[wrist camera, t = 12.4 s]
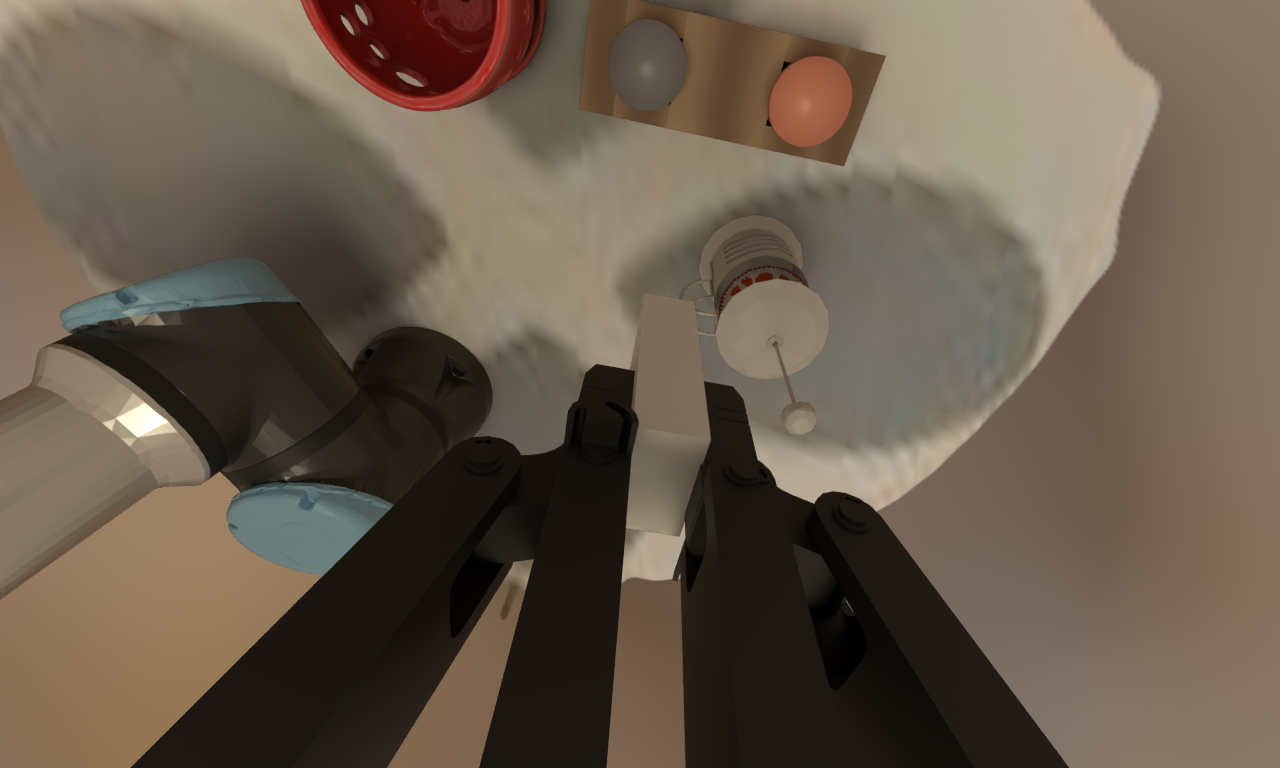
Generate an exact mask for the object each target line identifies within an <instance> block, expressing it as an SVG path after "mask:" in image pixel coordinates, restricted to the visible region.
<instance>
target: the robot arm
mask: <svg viewBox="0 0 1280 768" xmlns="http://www.w3.org/2000/svg"><path fill="white" fill-rule="evenodd" d="M302 304H303V303H302V301H301V300H300V299H299V298H298V297H296V296H293V295H292V293H291V292H290V291H289V290H288V289H287V287H286V286H285V285H284V284H283V283H282V281H281V280H280V279H279V278H278V277H277V275H276V274H275V273H274V272H273V271H272V270H271V269H270V268H269V267H268V266H267V265H266V264H264V263H263V262H261V261H259V260H257V259H253V258H250V257H231V258H226V259H221V260H216V261H212V262H208V263H204V264H200V265H196V266H193V267H189V268H185V269H182V270H178V271H175V272H171V273H168V274H164V275H161V276H158V277H154V278H151V279H148V280H145V281H142V282H139V283H136V284H133V285H131V286H130V287H124V288H121V289H118V290H115V291H112V292H109V293H104V294H101V295H98V296H95V297H92V298H89V299H87V300H84V301H81V302H79V303H76V304H74V305H71V306H69V307H67V308H66V309H64V310H63V311H61V313H60V318H61V319H62V321H63V327H64V328H65V329H66V330H67V331H68V332H69V333H73V334H72V335H70V336H67V337H65V338H63V339H61V340H59V341H56V342H54V343H52V344H49V345H47V346H45V347H43V348H42V349H40V350H39V352H38V355H37V360H36V364H35V369H34V374H33V379H32V382H31V384H30V385H29V386H28V387H26V388H24V389H22V390H20V391H18V392H16V393H14V394H12V395H10V396H8V397H6V398H4V399H2V400H0V600H1V599H2V598H3V597H5V596H6V595H8V594H9V593H10V592H12V591H13V590H15V589H16V588H17V587H19V586H20V585H21V584H23V583H24V582H26V581H27V580H28V579H30V578H31V577H33V576H34V575H35V574H37V573H38V572H40V571H41V570H42V569H44V568H45V567H47V566H48V565H49V564H51V563H52V562H54V561H55V560H56V559H58V558H59V557H60V556H62V555H63V554H65V553H66V552H68V551H69V550H70V549H72V548H73V547H75V546H76V545H77V544H79V543H80V542H81V541H83V540H84V539H86V538H87V537H89V536H90V535H91V534H93V533H94V532H96V531H97V530H98V529H100V528H101V527H102V526H104V525H105V524H107V523H108V522H110V521H111V520H112V519H114V518H115V517H116V516H118V515H119V514H121V513H122V512H123V511H125V510H126V509H128V508H129V507H131V506H132V505H133V504H135V503H136V502H137V501H139V500H140V499H142V498H143V497H144V496H146V495H147V494H149V493H150V492H151V491H153V490H154V489H157V488H162V487H170V486H197V485H201V484H203V483H204V482H206V481H207V480H209V479H210V478H211V477H212V476H214V475H215V474H217V473H218V472H219V471H220V472H221V473H222V474H223V475H224V476H225V477H226V478H228V480H229V481H231V483H232V484H233V485H234V486H235V487H236V488H237V489H238V490H239V491H240V493H239V494H237V495H235V496H234V497H233V499H232V500H231V503H230V506H229V508H228V510H227V514H226V517H227V521H228V522H229V525H228V527H229V529H230V531H231V533H232V534H233V536H234V537H235V538H236V539H237V540H238V541H239V542H240V543H241V544H242V545H243V546H244V547H246V548H247V549H249V550H250V551H252V552H253V553H255V554H256V555H258V556H260V557H262V558H264V559H266V560H268V561H270V562H273V563H275V564H277V565H280V566H283V567H286V568H289V569H292V570H296V571H301V572H306V573H311V574H319V575H323V577H322V578H320V579H319V581H317V582H316V583H315V584H314V585H313V586H312V588H310V590H308V591H307V592H306V593H305V594H304V595H303V597H301V598H300V599H299V600H298V601H297V602H296V604H294V605H293V606H292V607H291V608H290V609H289V610H288V611H287V613H286V614H284V615H283V616H282V617H281V618H280V619H279V620H278V621H277V622H276V623H275V624H274V625H273V626H272V627H271V628H270V629H269V630H268V631H267V632H266V633H265V634H264V635H263V636H262V637H261V638H260V639H259V640H258V641H257V642H256V643H255V644H254V645H253V646H252V647H251V648H250V649H249V650H248V651H247V652H246V653H245V654H244V655H243V656H242V657H241V658H240V659H239V660H238V661H237V662H236V663H235V664H234V665H233V666H232V667H231V668H230V669H229V670H228V671H227V672H226V673H225V674H224V675H223V676H222V677H221V678H220V679H219V680H218V681H217V682H216V683H215V684H214V685H213V686H212V687H211V688H210V689H209V690H208V691H207V692H206V693H205V694H204V695H203V696H202V697H201V698H200V699H199V700H198V701H197V702H196V703H195V704H194V705H193V706H192V707H191V708H190V709H189V710H188V711H187V712H186V713H185V714H184V715H183V716H182V717H181V718H180V719H179V720H178V721H177V722H176V723H175V724H174V725H173V726H172V727H171V728H170V729H169V730H168V731H167V732H166V733H165V734H164V735H163V736H162V737H161V738H160V739H159V740H158V741H157V742H156V743H155V744H154V745H153V746H152V747H151V748H150V749H149V750H148V751H147V752H146V753H145V754H144V755H143V756H142V757H141V758H140V759H139V760H138V761H137V762H136V763H135V764H134V765H133V766H132V767H131V768H387V767H388V765H389V764H390V762H391V760H392V759H393V757H394V756H395V754H396V752H397V751H398V749H399V747H400V746H401V744H402V743H403V741H404V739H405V738H406V736H407V735H408V733H409V731H410V730H411V728H412V727H413V725H414V723H415V722H416V720H417V718H418V717H419V715H420V713H421V712H422V710H423V709H424V707H425V706H426V704H427V702H428V701H429V699H430V698H431V696H432V694H433V693H434V691H435V690H436V688H437V686H438V685H439V683H440V681H441V680H442V678H443V676H444V675H445V673H446V672H447V670H448V669H449V667H450V665H451V664H452V662H453V661H454V659H455V657H456V656H457V654H458V652H459V651H460V649H461V647H462V646H463V644H464V643H465V641H466V639H467V638H468V636H469V635H470V633H471V632H472V630H473V628H474V627H475V625H476V623H477V622H478V620H479V619H480V617H481V615H482V614H483V612H484V610H485V609H486V607H487V606H488V604H489V603H490V601H491V599H492V598H493V596H494V594H495V593H496V591H497V590H498V588H499V587H500V585H501V583H502V582H503V580H504V578H505V577H506V575H507V574H508V572H509V570H510V569H511V567H512V564H513V562H516V561H523V560H531V559H534V561H533V565H532V569H531V572H530V576H529V580H528V584H527V588H526V591H525V595H524V599H523V603H522V607H521V610H520V614H519V618H518V622H517V626H516V630H515V633H514V637H513V641H512V645H511V649H510V653H509V656H508V660H507V664H506V668H505V672H504V675H503V679H502V683H501V687H500V691H499V695H498V698H497V702H496V706H495V710H494V714H493V717H492V721H491V725H490V729H489V733H488V736H487V740H486V744H485V748H484V752H483V755H482V759H481V763H480V767H479V768H606V766H607V754H608V741H609V728H610V717H611V716H610V715H611V705H612V692H613V679H614V667H615V655H616V643H617V630H618V618H619V606H620V592H621V581H622V569H623V557H624V544H625V532H626V528H629V529H635V530H641V531H648V532H654V533H661V534H667V535H673V536H680V534H681V531H682V528H683V524H684V521H685V536H686V538H685V541H684V544H683V547H682V550H681V553H680V556H679V559H678V562H677V565H676V568H675V571H674V575H673V579H672V580H674V581H678V578H679V575H680V576H681V613H682V649H683V683H684V684H683V687H684V724H685V756H686V757H685V761H686V768H1069V767H1068V766H1067V764H1066V763H1065V762H1064V760H1063V759H1062V758H1061V756H1060V755H1059V754H1058V752H1057V751H1056V750H1055V748H1054V747H1053V746H1052V744H1051V743H1050V742H1049V741H1048V739H1047V738H1046V736H1045V735H1044V734H1043V732H1042V731H1041V730H1040V728H1039V727H1038V726H1037V724H1036V723H1035V722H1034V720H1033V719H1032V718H1031V716H1030V715H1029V714H1028V712H1027V711H1026V709H1025V708H1024V707H1023V706H1022V704H1021V703H1020V702H1019V700H1018V699H1017V698H1016V696H1015V695H1014V694H1013V692H1012V691H1011V690H1010V688H1009V687H1008V685H1007V684H1006V683H1005V681H1004V680H1003V679H1002V677H1001V676H1000V675H999V674H998V672H997V671H996V669H995V668H994V667H993V666H992V664H991V663H990V661H989V660H988V659H987V657H986V656H985V655H984V653H983V652H982V651H981V649H980V648H979V647H978V645H977V644H976V643H975V641H974V640H973V639H972V637H971V636H970V635H969V633H968V632H967V631H966V629H965V628H964V627H963V625H962V624H961V623H960V622H959V620H958V619H957V617H956V616H955V615H954V613H953V612H952V611H951V610H950V608H949V607H948V606H947V604H946V603H945V601H944V600H943V599H942V597H941V596H940V595H939V593H938V592H937V591H936V589H935V588H934V587H933V585H932V584H931V583H930V581H929V580H928V579H927V577H926V576H925V575H924V573H923V572H922V571H921V569H920V568H919V567H918V565H917V564H916V563H915V561H914V560H913V559H912V557H911V556H910V555H909V553H908V552H907V551H906V549H905V548H904V547H903V545H902V544H901V543H900V541H899V540H898V539H897V537H896V536H895V535H894V533H893V532H892V531H891V529H890V528H889V527H888V525H887V524H886V523H885V521H884V520H883V519H882V517H881V516H880V515H879V514H878V513H877V512H876V511H875V510H874V509H873V508H872V507H871V506H870V505H868V504H867V503H865V502H864V501H862V500H861V499H859V498H857V497H854V496H852V495H849V494H847V493H841V492H834V491H833V492H828V493H823V494H822V495H821V496H820V497H819V498H818V499H817V500H816V502H815V504H813V503H811V502H808V501H806V500H803V499H801V498H798V497H796V496H793V495H791V494H789V493H787V492H785V491H783V490H781V489H780V488H778V487H777V485H776V481H775V479H774V477H773V475H772V473H771V471H770V470H769V469H768V468H767V467H766V466H765V465H764V464H763V463H761V462H760V461H758V460H757V456H756V451H755V447H754V443H753V439H752V434H751V430H750V426H749V425H748V424H749V421H748V417H747V414H746V409H745V404H744V400H743V398H742V397H741V396H740V395H739V393H738V392H737V391H736V390H735V389H734V387H733V386H727V385H721V384H716V383H710V382H704V379H703V371H702V363H701V354H700V346H699V338H698V330H697V322H696V314H695V306H694V302H691V301H685V300H680V299H674V298H669V297H664V296H658V295H653V294H647V293H645V294H644V299H643V304H642V309H641V315H640V320H639V325H638V330H637V335H636V340H635V345H634V351H633V356H632V361H631V366H630V370H627V369H622V368H616V367H610V366H605V365H599V364H596V365H595V366H593V367H592V368H591V369H590V370H589V371H587V372H586V373H585V377H584V381H583V385H582V388H581V392H580V397H579V400H578V401H577V402H575V403H573V404H572V406H571V407H570V409H569V410H568V415H567V423H566V431H565V439H564V443H563V444H562V445H561V446H560V447H558V448H556V449H555V450H552V451H549V452H546V453H542V454H535V455H520V452H519V451H518V449H517V448H516V447H515V446H514V445H513V444H511V443H509V442H508V441H506V440H504V439H501V438H495V437H490V436H484V437H473V436H474V435H475V434H476V433H477V432H478V431H479V430H480V428H481V427H482V425H483V423H484V421H485V420H486V418H487V416H488V414H489V412H490V409H491V404H492V390H491V385H490V382H489V379H488V377H487V375H486V373H485V371H484V369H483V368H482V366H481V365H480V363H479V362H478V361H477V359H476V358H475V357H474V356H473V355H472V354H471V353H470V352H469V351H468V350H467V349H465V348H464V347H463V346H462V345H460V344H459V343H457V342H456V341H454V340H452V339H451V338H449V337H447V336H445V335H442V334H440V333H437V332H435V331H431V330H427V329H423V328H415V327H403V328H396V329H392V330H389V331H386V332H384V333H382V334H380V335H378V336H377V337H376V338H374V339H373V340H372V341H371V342H370V343H369V344H368V345H367V346H366V347H365V348H363V349H362V351H361V352H360V353H359V355H358V356H357V358H356V359H355V362H354V364H353V367H352V369H350V368H349V367H348V365H347V364H346V363H345V361H344V360H343V359H342V357H341V356H340V355H339V353H338V352H337V351H336V350H335V348H334V347H333V346H332V344H331V343H330V342H329V340H328V339H327V338H326V337H325V335H324V334H323V333H322V331H321V330H320V329H319V327H318V326H317V325H316V323H315V322H314V321H313V320H312V318H311V317H310V316H309V314H308V313H307V312H306V310H305V309H304V308H303V307H302ZM472 437H473V438H472ZM846 600H847V601H848V603H849V605H850V606H851V608H852V610H853V611H852V610H851V609H850V607H849V606H848V604H847V602H846Z"/></svg>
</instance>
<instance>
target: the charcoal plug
mask: <svg viewBox="0 0 1280 768" xmlns="http://www.w3.org/2000/svg"><path fill="white" fill-rule="evenodd" d="M608 66H609V76H610V80H611V83H612V86H613V88H614V90H615V92H616V93H617V95H618V96H619V97H620V99H621V100H622V101H623V102H625V103H626V104H627V105H629V106H630V107H632V108H634V109H637V110H640V111H654V110H657V109H660V108H662V107H664V106H666V105H667V104H669V103H670V102H671V101H672V100H673V99H674V98H675V97H676V95H677V94H678V93H679V91H680V89H681V87H682V85H683V82H684V79H685V74H686V56H685V51H684V48H683V45H682V43H681V41H680V39H679V37H678V36H677V34H676V33H675V32H674V31H673V30H672V29H671V28H670V27H669V26H667V25H666V24H664V23H662V22H660V21H657V20H652V19H643V20H638V21H635V22H633V23H631V24H629V25H628V26H627V27H625V28H624V29H623V30H622V31H621V32H620V33H619V35H618V36H617V37H616V39H615V41H614V43H613V45H612V48H611V51H610V55H609V64H608Z"/></svg>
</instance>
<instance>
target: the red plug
mask: <svg viewBox="0 0 1280 768" xmlns="http://www.w3.org/2000/svg"><path fill="white" fill-rule="evenodd" d="M851 102H852V86H851V81H850V78H849V76H848V74H847V72H846V71H845V69H844V68H843V67H842V66H841V65H840V64H839V63H838V62H836V61H834V60H832V59H830V58H827V57H821V56H811V57H805V58H802V59H799V60H797V61H795V62H793V63H792V64H790V65H789V66H788V67H786V68H785V69H784V70H783V71H782V72H781V73H780V75H779V76H778V77H777V79H776V81H775V82H774V84H773V86H772V88H771V91H770V94H769V99H768V117H769V121H770V123H771V126H772V128H773V129H774V131H775V132H776V133H777V135H778V136H780V137H781V138H782V139H783V140H784V141H786V142H787V143H789V144H791V145H794V146H799V147H809V146H814V145H818V144H820V143H822V142H824V141H826V140H827V139H829V138H830V137H832V136H833V135H834V134H835V133H836V132H837V131H838V130H839V129H840V127H841V126H842V124H843V123H844V121H845V120H846V118H847V115H848V113H849V110H850V107H851Z"/></svg>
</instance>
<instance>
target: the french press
mask: <svg viewBox="0 0 1280 768" xmlns="http://www.w3.org/2000/svg"><path fill="white" fill-rule="evenodd" d="M802 268H803V258H802V247H801V244H800V243H799V241H798V239H797V238H796V236H795V234H794V233H793V231H792V229H790V228H789V227H787V226H786V225H784V224H783V223H781V222H780V221H778V220H777V219H775V218H772V217H765V216H759V215H750V216H746V217H741V218H737V219H733V220H731V221H730V222H728V223H727V224H725V225H724V226H723V227H721V228H720V229H718V230H717V231H715V232H714V234H713V235H712V237H711V238H710V239H709V241H708V242H707V244H706V245H705V247H704V248H703V251H702V256H701V260H700V265H699V272H700V277H701V280H700V281H696V282H693V283H690V284H688V285H687V286H686V287H685V288H683V289H682V291H681V293H680V300H683V295H684V292H685V291H686V290H687V289H688V288H689V287H692V286H694V285H696V284H700V283H702V287H703V288H704V290H705V291H706V293H707V294H708V295H709V296H707V297H703V298H699V299H695V300H693V301H691V302H694V303H695V302H697V301H701V300H705V299H710V298H711V300H712V301H713V302H714V304H715V313H713V314H711V313H705V312H700V311H698V310H696V309H695V313H697V314H699V315H705V316H711V317H713V316H715V332H714V333H708V332H703V331H699V330H698V334H702V335H707V336H715V335H716V338H717V344H718V349H719V353H720V354H721V355H722V357H723V358H724V359H725V361H726V362H727V364H728V365H729V366H730V367H731V368H733V369H734V370H736V371H738V372H740V373H741V374H743V375H745V376H747V377H753V378H759V379H765V380H769V379H775V378H781V377H784V378H785V381H786V385H787V388H788V391H789V394H790V397H791V401H792V404H790V405H788V406H786V407H785V408H784V410H783V412H782V415H781V416H782V423H783V424H784V426H785V427H786V428H787V430H788V431H789V432H790V433H792V434H799V435H803V434H805V433H807V432H809V431H811V430H813V428H814V426H815V424H816V421H817V417H816V414H815V410H814V409H813V407H812V406H811V405H810V404H809V403H805V402H796V401H795V398H794V395H793V391H792V388H791V385H790V382H789V379H788V376H789V375H791V374H793V373H795V372H797V371H799V370H801V369H803V368H805V367H807V366H808V365H809V364H810V363H811V362H812V360H813V359H814V358H815V357H816V356H817V355H818V354H819V353H820V352H821V351H822V348H823V346H824V343H825V340H826V338H827V335H828V333H829V324H828V311H827V309H826V308H825V306H824V304H823V302H822V301H821V299H820V297H819V295H818V294H816V293H815V292H813V291H812V290H810V289H809V286H808V284H807V281H806V278H805V276H804V274H803V272H802ZM718 321H719V322H718Z"/></svg>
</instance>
